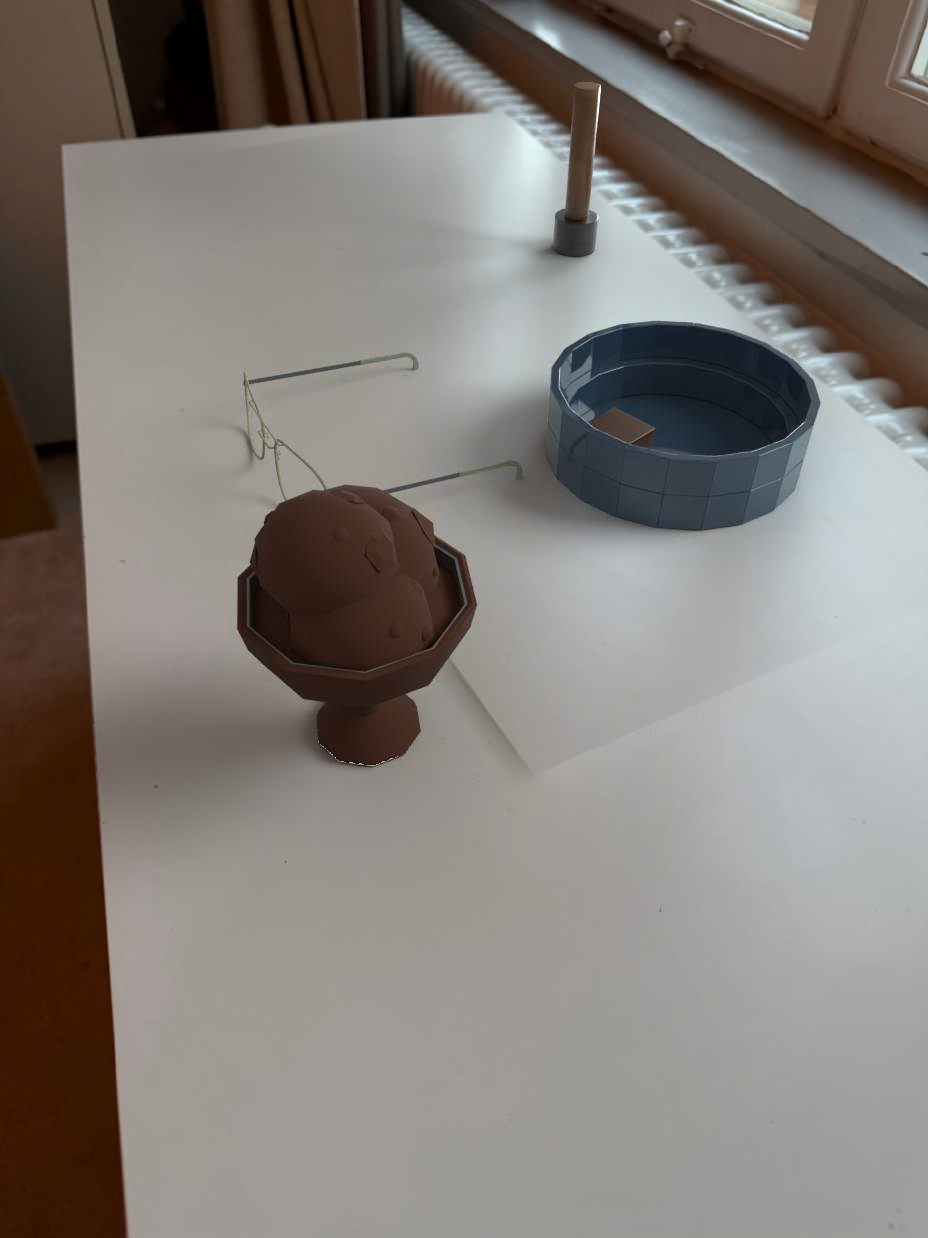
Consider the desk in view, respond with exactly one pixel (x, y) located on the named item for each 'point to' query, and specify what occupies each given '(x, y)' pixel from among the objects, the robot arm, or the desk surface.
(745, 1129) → the desk surface
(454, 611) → the ice cream bowl
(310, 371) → the eyeglasses
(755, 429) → the bowl
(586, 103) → the pestle
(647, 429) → the block
